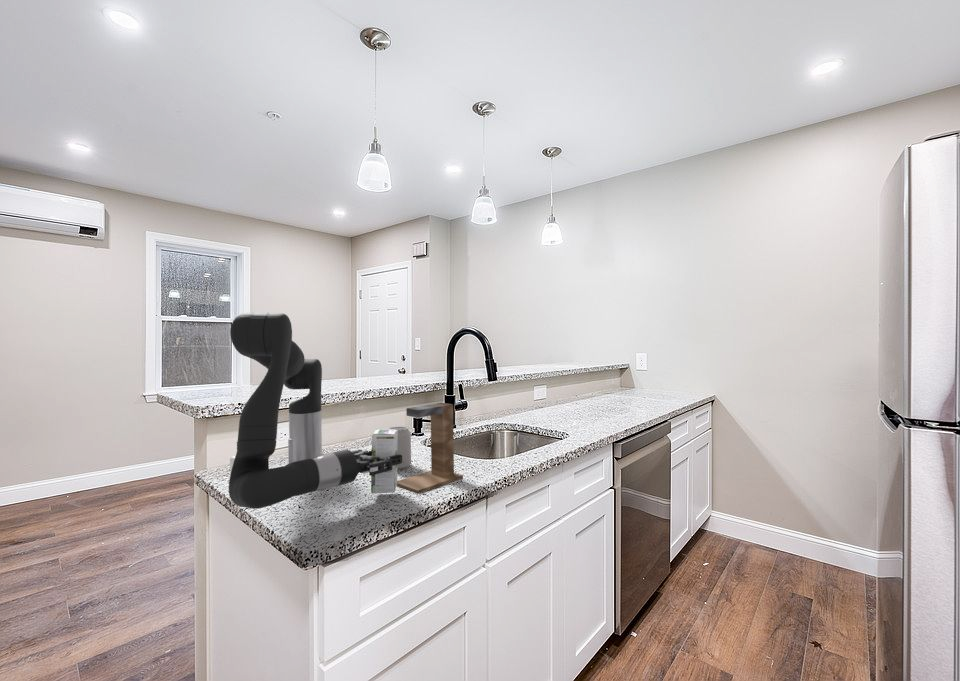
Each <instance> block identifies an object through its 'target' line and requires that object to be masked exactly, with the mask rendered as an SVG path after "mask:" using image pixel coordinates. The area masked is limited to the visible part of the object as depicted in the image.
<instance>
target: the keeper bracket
mask: <svg viewBox="0 0 960 681" xmlns="http://www.w3.org/2000/svg"><path fill="white" fill-rule="evenodd" d="M406 416H407V417H412V418H418V419H419V418H425V417H429V416H430V457H431V458H430V460H431V464H430V465H431V466H430V467H431V470H429V471H424V472H421V473H418V474H416V475H412V476H409V477H406V478H402V479H399V480H397V486H396V487H399V488H401V489H404V490H407V491H409V492H413V493H414V494H421V493H424V492H427V491H429V490H432V489H436V488H438V487H441V486H443V485H447V484H450V483H452V482H455V481H458V480H461V479H463V477H464V475H463V474H461V473H460V474H459V473H457V472H455V464H454V463H455V459H454V458H455V455H454V454H455V453H454V450H455V449H454V446H455V445H454V444H455V443H454V441H455V440H454V404H452V403H446V402H438V403H437V402H436V403H431V404H425V405H417V406H411V407H406Z"/></svg>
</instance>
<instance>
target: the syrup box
mask: <svg viewBox="0 0 960 681" xmlns="http://www.w3.org/2000/svg"><path fill="white" fill-rule="evenodd" d="M371 450H372V456H377V455H378V456H380V457H390V456H394V455H397V451H398V430H393V429H389V428H382V429H375V431H374V432H373V433H372V435H371ZM374 462H377V461H376V459H374ZM384 465H385V464H384ZM370 479H371V480H370V481H371V482H370V483H371V484H370V485H371V486H370V493H371V494H387V493H392V494H393V493H395V492H396V489H397V487H398V486H397V481H398V470H397V465H394V466H392V470H391V471H387V472H383V473H379V474H375V475H370Z"/></svg>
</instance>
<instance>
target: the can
mask: <svg viewBox="0 0 960 681" xmlns="http://www.w3.org/2000/svg"><path fill="white" fill-rule="evenodd" d="M388 429H393V430H398V451H397V455H398V454H400V455H402V463H401V464H398V465H397V471H400V470H405V469H408V468H409V467H410V466H411V465H412V432H411V431H410V430H409V427H408V426H401V425H400V426H392V427H391V426H390V427H388Z"/></svg>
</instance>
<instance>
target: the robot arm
mask: <svg viewBox="0 0 960 681" xmlns="http://www.w3.org/2000/svg"><path fill="white" fill-rule="evenodd" d="M229 329H230V330H229V333H230V340H231V343H232V345H233V347H234V349H235V350H236V351H237V352H238V354H240V355H241V356H244V357H247V358H249V359H250V360H254V361H256V362H257V363H259V364H260V365H261V366H263V367H265V369H267V372H266V374H265V375H264V377H263V378H262V380H261V382H260V384H259V385H258V386H257V388H256V389H255V390H254V392H253V393H252V394H251V396H250V397H249V398H248V400H247V401H246V403H245V404H244V406H243V408H242V411H241V412H240V416H239V422H238V430H237V431H238V433H237V441H238V442H237V441H236V453H235V455H234V456H235V459H234V463H233V467H232V471H231V475H229V479H228V494H229V499H230V500H231V502H232V503H233V504H234V505H236V506H238V507H241V508H245V509H252V510H253V509H263V508H266V507H270V506H273V505H276V504H278V503H281V502H283V501H286V500H289V499H291V498H293V497H298V496H302V495H305V494H308V493H309V494H310V493H312V492H313V493H314V492H317V491H325V490H328V489H332V488H336V487H339V486H343V485H347V484H351V483H352V482H355V480H356V479H357V476H358V475H359V473H360V474H367V473H368V475H369V476H371V475H375V474H379V473H383V472H387V471H391V470H392V466H394V465H398V464H401V463H402V455H400V454H398V455H394V456H390V457H380V456H378V455H377V456H372V449H371V450H363V449H357V450H356V449H355V450H352V451H351V450H350V449H342V450H338V451H333V452H329V453H324V454H323V444H322V443H323V434H322V430H323V429H322V426H323V425H322V424H323V422H322V381H323V379H322V378H323V367H322V363H321V361H320V360H319V359H317V358H306V357H305V354H304V352H303V351H302V349H301V348H300V347H299V345H298V344H297V343H296V342H295V341H293V326H292V321H291V319H290V318H289V316H288V315H287V314H286V313H280V312H245V313H240V314H239V315H237V316H235V318H234V319H233V320H232V323H231V325H230V328H229ZM284 386H285V388H287V389H289V390H294V391H295V390H296V391H297V390H309V392H308V394H307V395H305V396H303V397H302V398H300V399H297V400H294V401H291V402H290V403H289V404H288V432H289V433H288V434H289V436H288V442H287V443H288V444H287V446H288V450H287V451H288V454H287V455H288V456H287V457H288V463H287V464H286V465H284V466H279V467H272V468H269V469H267V465H268V459H270V457H271V456H272V455H273V454H274V453H275V451H276V447H277V438H278V436H277V435H278V424H279V421H278V420H279V411H280V404H281V399H282V393H283V389H284ZM374 459H376V461H377V462H374ZM384 464H385V465H384Z"/></svg>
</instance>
